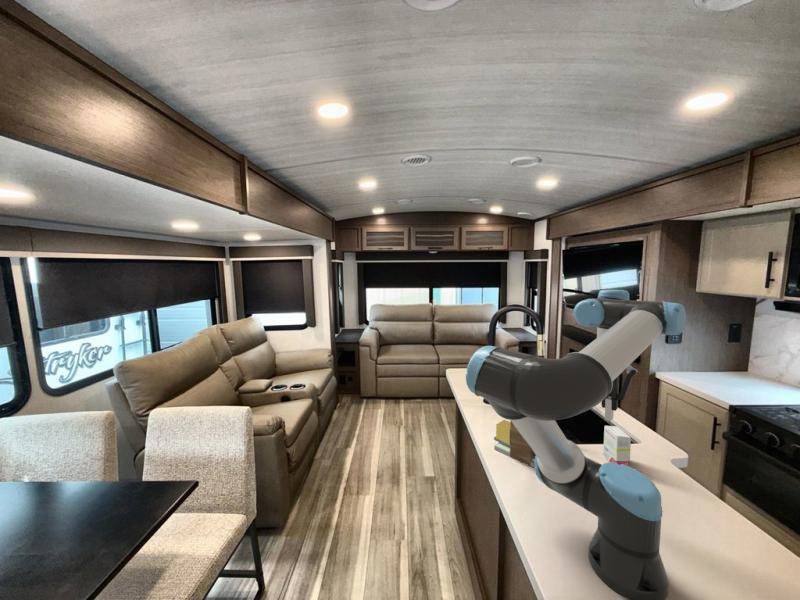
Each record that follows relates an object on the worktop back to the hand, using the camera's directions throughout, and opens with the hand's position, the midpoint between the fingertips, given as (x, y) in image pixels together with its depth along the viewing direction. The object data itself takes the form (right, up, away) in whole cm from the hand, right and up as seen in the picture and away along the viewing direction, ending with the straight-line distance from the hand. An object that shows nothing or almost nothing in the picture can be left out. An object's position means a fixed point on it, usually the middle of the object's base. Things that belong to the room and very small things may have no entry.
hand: (608, 419), depth 93 cm
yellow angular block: (-15, -22, +29) cm, 40 cm away
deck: (-13, -25, +27) cm, 39 cm away
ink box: (+18, -25, +22) cm, 37 cm away
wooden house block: (-13, -25, +27) cm, 39 cm away
